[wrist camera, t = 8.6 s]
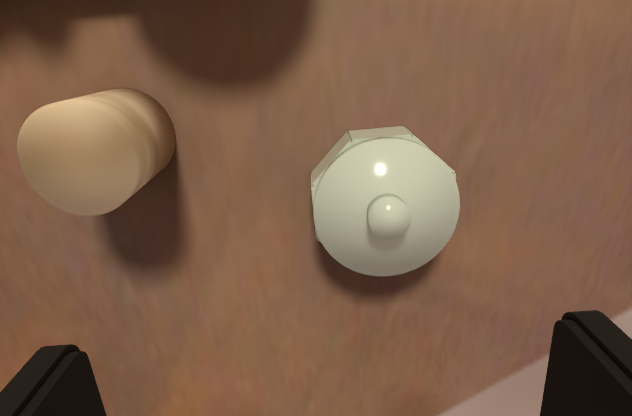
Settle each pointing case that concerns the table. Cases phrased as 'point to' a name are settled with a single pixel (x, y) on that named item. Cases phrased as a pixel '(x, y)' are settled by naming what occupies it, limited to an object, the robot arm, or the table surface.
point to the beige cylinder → (95, 149)
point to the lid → (383, 201)
